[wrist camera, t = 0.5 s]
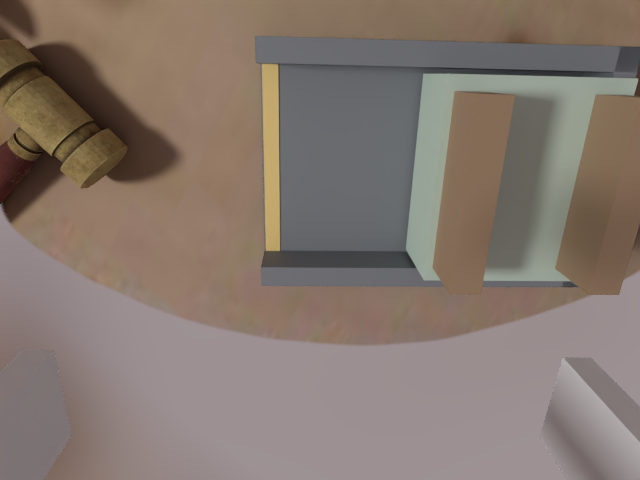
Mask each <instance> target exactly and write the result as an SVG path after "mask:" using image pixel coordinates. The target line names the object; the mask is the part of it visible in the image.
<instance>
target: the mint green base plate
mask: <svg viewBox="0 0 640 480" xmlns="http://www.w3.org/2000/svg"><path fill="white" fill-rule="evenodd" d="M637 83H638V79H637V78H598V77H559V76H520V75H481V74H423V82H422V92H421V102H420V112H419V122H418V132H417V142H416V152H415V162H414V172H413V182H412V192H411V202H410V212H409V222H408V232H407V242H406V251H407V252H408V254H409V256H410V258H411V259H412V261H413V263H414V264H415V266H416V268H417V269H418V271H419V273H420V275H421V276H422V278H423V280H438V281H441V282H442V283H443V285H444V286H445V288H446V289H447V291H448V292H449V294H481V291H482V286H483V281H572V282H573V283H574V284H575V285H577V286H578V287H579V288H581V289H582V290H583V291H585V292H586V293H587V294H588V295H619V292H620V289H621V286H622V282H623V279H624V276H625V272H626V269H627V266H628V262H629V259H630V256H631V252H632V249H633V245H634V242H635V239H636V235H637V232H638V229H639V225H640V96H634V94H635V90H636V87H637Z"/></svg>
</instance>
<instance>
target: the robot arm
mask: <svg viewBox="0 0 640 480" xmlns="http://www.w3.org/2000/svg"><path fill="white" fill-rule="evenodd" d="M70 437H71V430H70V425H69V420H68V416H67V411H66V406H65V401H64V396H63V391H62V387H61V382H60V377H59V373H58V367H57V363H56V358H55V353H54V350H21V351H20V352H19V353H18V355H17V356H15V358H13V359H12V360H11V361H10V363H8V365H6V367H5V368H4V369H3V370H2V371H1V372H0V480H44V478H45V476H46V475H47V473H48V472H49V470H50V469H51V467H52V465H53V464H54V462H55V461H56V459H57V457H58V456H59V454H60V453H61V451H62V450H63V448H64V446H65V445H66V443H67V441H68V440H69V438H70ZM540 439H541V440H542V442H543V443H544V445H545V446H546V448H547V449H548V451H549V453H550V454H551V456H552V457H553V459H554V460H555V462H556V464H557V465H558V467H559V468H560V470H561V471H562V473H563V474H564V476H565V478H566V479H567V480H640V407H639V406H638V405H637V403H635V401H634V400H633V399H631V397H630V396H628V395H627V393H626V392H625V391H623V390H622V388H621V387H620V386H619V385H617V383H616V382H614V380H613V379H612V378H611V377H609V375H608V374H607V373H606V372H605V371H604V370H602V369H601V367H600V366H599V365H597V364H596V362H595V361H594V360H593V359H591V358H564V357H563V359H562V362H561V366H560V369H559V373H558V376H557V380H556V383H555V387H554V390H553V393H552V397H551V400H550V403H549V407H548V411H547V414H546V417H545V421H544V424H543V427H542V431H541V434H540Z"/></svg>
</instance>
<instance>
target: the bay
mask: <svg viewBox="0 0 640 480" xmlns="http://www.w3.org/2000/svg"><path fill="white" fill-rule="evenodd" d="M255 50H256V63H260V64H261V103H262V148H263V192H264V236H265V252H264V257H263V261H262V266H261V279H262V286H427V287H445V286H444V285H443V283H442V282H441V281H438V280H423V278H422V276H421V275H420V273H419V271H418V269H417V268H416V266H415V264H414V263H413V261H412V259H411V258H410V256H409V254H408V252H407V251H406V242H407V232H408V222H409V212H410V202H411V192H412V182H413V172H414V162H415V152H416V142H417V132H418V122H419V112H420V102H421V92H422V82H423V74H481V75H520V76H559V77H598V78H636V75H637V71H638V67H639V64H640V47H622V46H587V45H552V44H518V43H483V42H448V41H413V40H378V39H344V38H309V37H274V36H255ZM482 287H578V286H577V285H575V284H574V283H573V282H572V281H483V286H482Z"/></svg>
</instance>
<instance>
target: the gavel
mask: <svg viewBox="0 0 640 480" xmlns="http://www.w3.org/2000/svg"><path fill="white" fill-rule="evenodd" d="M41 71H42V63H41V62H40V61H39V60H38V59H37V58H36V57H35V56H34V55H33V54H32V53H31V52H30V51H29V50H28V49H27V48H25V47H24V46H23V45H22V44H21V43H20V42H19V41H18V40H15V39H7V40H0V107H2V108H3V109H4V113H5V114H6V115H7V116H8V117H9V118H10V119H11V120H12V121H13V122H15V123H16V124H17V125H18V126H19V128H18V129H17V130H16V132H15V133H14V134H13V135H12V137H11V138H10V139H9V140H8V141H6V142H5V143H4V144H2V145H1V146H0V204H1V203H2V202H3V201H4V199H5V198H6V197H7V196H8V195H9V194H10V193H11V192H12V191H13V190H14V188H15V187H16V186H17V185H18V184H19V183H20V182H21V181H22V180H23V179H24V177H25V176H26V175H27V174H28V173H29V172H30V171H31V169H32V167H33V165H34V164H35V162H36V160H37V158H38V157H39V156H40V155H41V154H42V153H43V152H44V151H46V152H48V153H49V154H50V155H51V156H52V157H56V158H58V159H59V160H60V161H61V162H62V163H63V165H62V166H61V171H62V172H63V173H64V174H65V175H66V176H67V177H69V178H70V179H71V180H72V181H73V182H74V183H75V184H76V185H77V186H78V187H80V188H81V189H82V188H88V187H90V186H91V185H93V184H94V183H96V182H97V181H98V180H100V179H101V178H102V177H104V176H105V175H106V174H107V173H108V172H109V171H110V170H112V169H113V168H114V167H115V166H116V165H117V164H118V163H119V162H120V161H121V160H122V159H123V157H124V156H125V155H126V153H127V150H128V147H127V146H126V145H125V144H124V143H123V142H122V141H121V140H120V139H119V138H118V137H117V136H116V135H115V134H114V133H113V132H112V131H111V130H110V129H105V130H102V131H101V130H100V129H99V128H98V127H97V126H96V125H95V121H94V120H93V119H92V118H91V117H90V116H89V115H88V114H87V113H86V112H85V111H84V110H83V109H82V108H81V107H80V106H79V105H78V104H77V103H76V102H75V101H74V100H73V99H72V98H71V97H70V96H68V95H67V94H66V93H65V92H64V91H63V90H62V89H61V88H60V87H59V86H58V85H57V84H56V83H55V82H54V81H53V80H52V79H51V78H50V77H48V76H45V75H44V74H43V73H42V72H41Z"/></svg>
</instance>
